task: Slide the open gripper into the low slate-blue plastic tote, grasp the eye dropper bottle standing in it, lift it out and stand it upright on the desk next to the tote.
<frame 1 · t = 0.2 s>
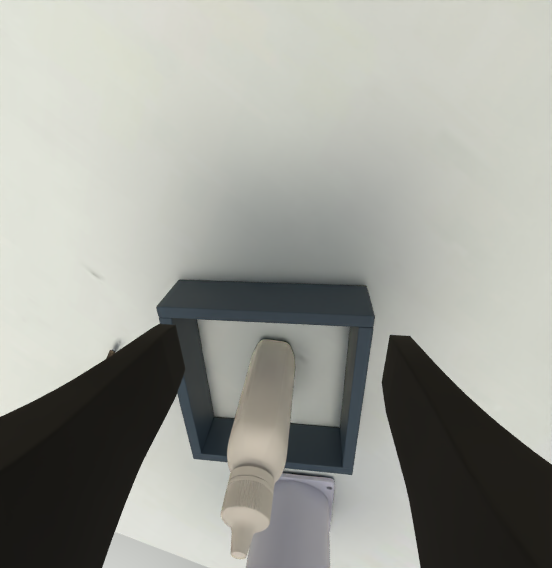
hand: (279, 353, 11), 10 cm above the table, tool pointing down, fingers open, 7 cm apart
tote: (273, 365, 25), on the table
eye dropper bottle: (273, 363, 25), resting in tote
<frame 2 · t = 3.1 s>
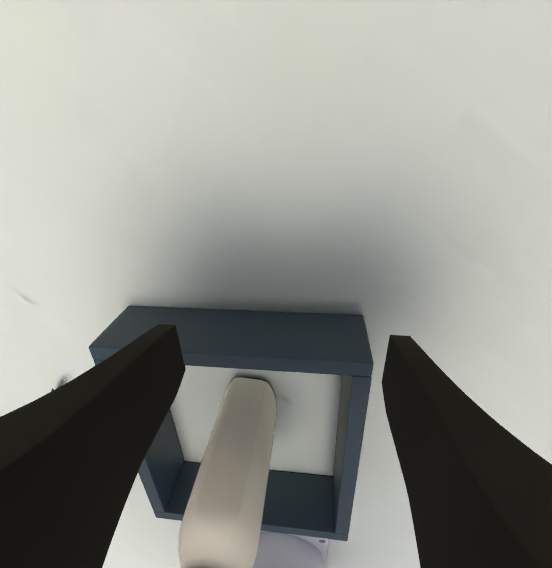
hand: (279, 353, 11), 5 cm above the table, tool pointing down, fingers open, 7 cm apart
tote: (250, 406, 20), on the table
eye dropper bottle: (250, 404, 20), resting in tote
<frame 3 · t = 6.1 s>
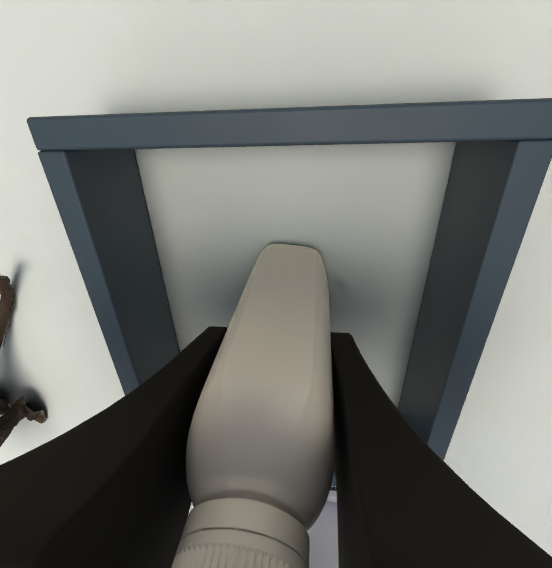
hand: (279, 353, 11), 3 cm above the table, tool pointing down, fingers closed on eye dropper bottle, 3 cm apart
dinosaur model: (16, 359, 18), on the table
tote: (287, 300, 14), on the table
eye dropper bottle: (287, 298, 14), resting in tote, touching gripper
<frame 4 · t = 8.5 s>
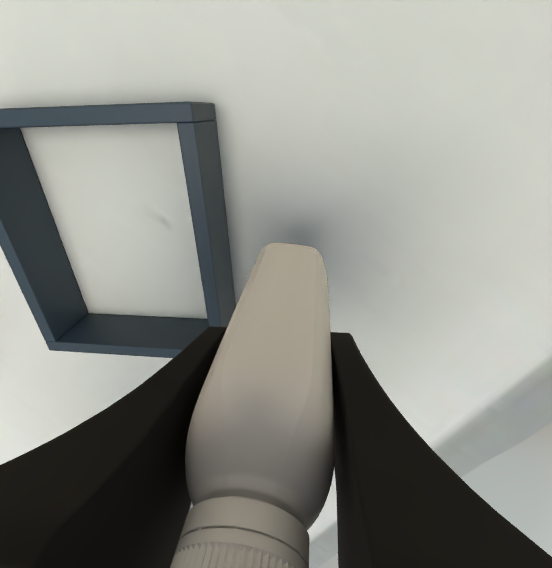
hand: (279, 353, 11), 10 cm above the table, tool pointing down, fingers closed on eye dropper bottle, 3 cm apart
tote: (134, 234, 21), on the table
eye dropper bottle: (287, 297, 14), point 7 cm above the table, touching gripper
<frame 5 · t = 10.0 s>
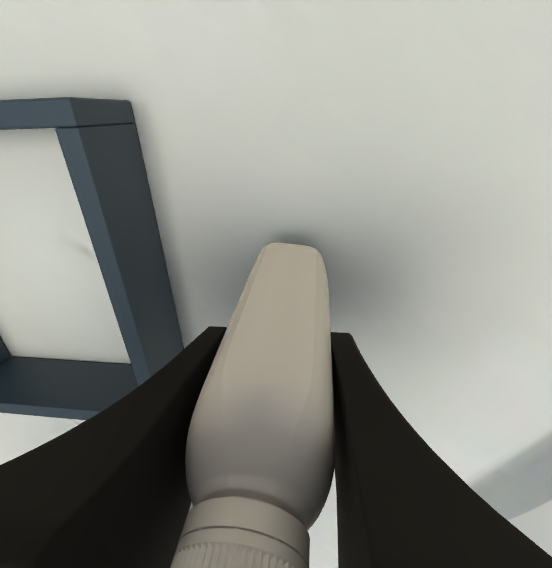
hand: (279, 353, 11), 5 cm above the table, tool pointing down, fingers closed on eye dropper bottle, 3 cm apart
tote: (52, 266, 17), on the table
eye dropper bottle: (287, 297, 14), point 2 cm above the table, touching gripper
when the fingers open (3 cm above the table, at t = 11.0 s): eye dropper bottle stays where it is, on the table.
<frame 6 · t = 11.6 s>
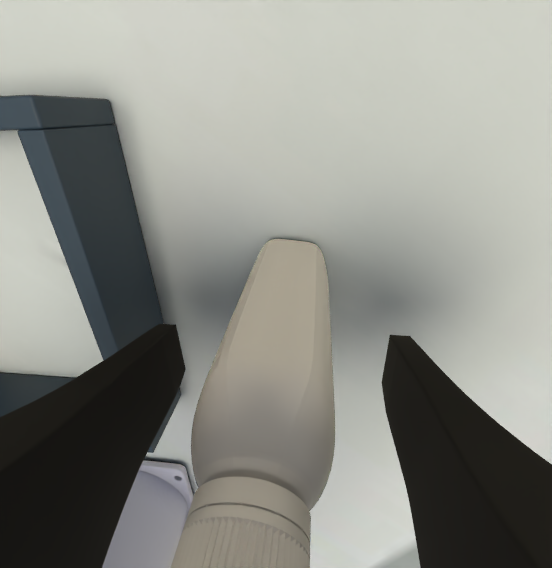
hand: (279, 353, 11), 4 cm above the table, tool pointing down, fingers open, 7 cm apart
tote: (30, 278, 15), on the table
eye dropper bottle: (288, 293, 14), on the table
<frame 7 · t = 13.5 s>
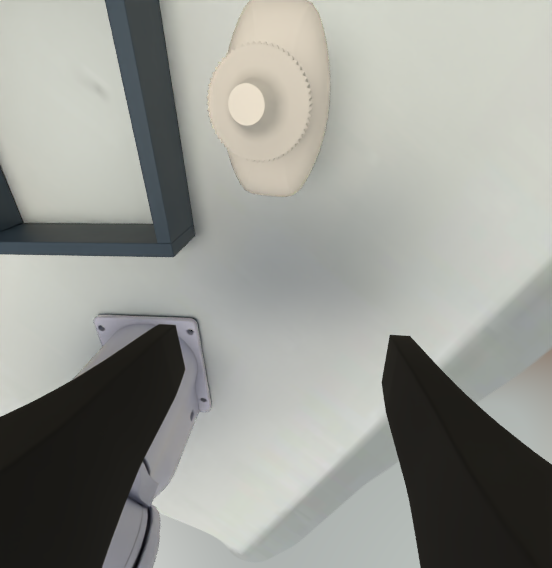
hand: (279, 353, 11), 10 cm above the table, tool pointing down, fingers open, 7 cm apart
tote: (66, 109, 18), on the table
eye dropper bottle: (290, 111, 17), on the table
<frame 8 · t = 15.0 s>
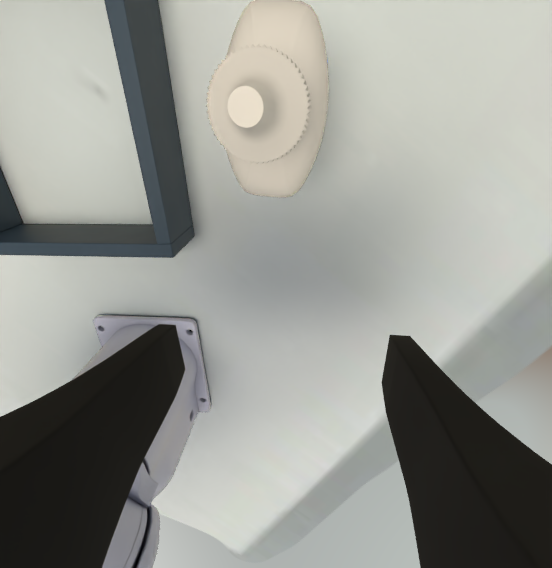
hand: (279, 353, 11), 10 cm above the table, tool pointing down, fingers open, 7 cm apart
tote: (66, 110, 18), on the table
eye dropper bottle: (289, 112, 17), on the table
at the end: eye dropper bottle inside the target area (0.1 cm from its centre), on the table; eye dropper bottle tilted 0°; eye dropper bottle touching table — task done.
